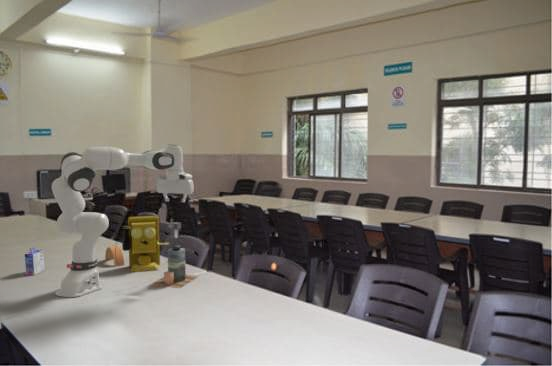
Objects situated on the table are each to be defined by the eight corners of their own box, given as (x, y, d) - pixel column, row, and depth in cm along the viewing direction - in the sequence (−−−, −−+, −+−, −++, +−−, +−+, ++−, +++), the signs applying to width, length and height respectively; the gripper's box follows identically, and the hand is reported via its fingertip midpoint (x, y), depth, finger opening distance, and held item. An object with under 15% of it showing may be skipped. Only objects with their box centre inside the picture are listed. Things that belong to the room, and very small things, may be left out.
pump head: (172, 241, 232) (171, 225, 231) (165, 240, 233) (164, 225, 232) (181, 237, 241) (181, 222, 241) (174, 237, 242) (174, 222, 242)
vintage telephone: (113, 273, 258) (111, 221, 256) (115, 267, 272) (113, 217, 269) (169, 269, 267) (168, 219, 264) (168, 263, 280) (167, 215, 277)
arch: (114, 266, 273) (113, 250, 272) (105, 260, 289) (104, 244, 288) (124, 265, 276) (123, 249, 275) (114, 258, 292) (114, 243, 291)
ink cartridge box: (36, 270, 265) (35, 245, 264) (45, 270, 265) (43, 246, 263) (25, 275, 255) (23, 249, 254) (34, 275, 255) (33, 250, 254)
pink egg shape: (170, 285, 231) (170, 274, 230) (162, 285, 232) (161, 273, 231) (175, 282, 235) (175, 271, 235) (167, 282, 237) (166, 270, 236)
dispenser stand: (180, 291, 227) (179, 252, 225) (148, 287, 232) (147, 250, 230) (199, 278, 248) (199, 243, 246) (170, 275, 253) (169, 241, 251)
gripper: (154, 175, 237) (154, 201, 238) (189, 176, 232) (190, 203, 233) (160, 174, 243) (160, 200, 244) (195, 175, 238) (195, 201, 239)
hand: (175, 201), depth 239 cm, fingers open, 8 cm apart
